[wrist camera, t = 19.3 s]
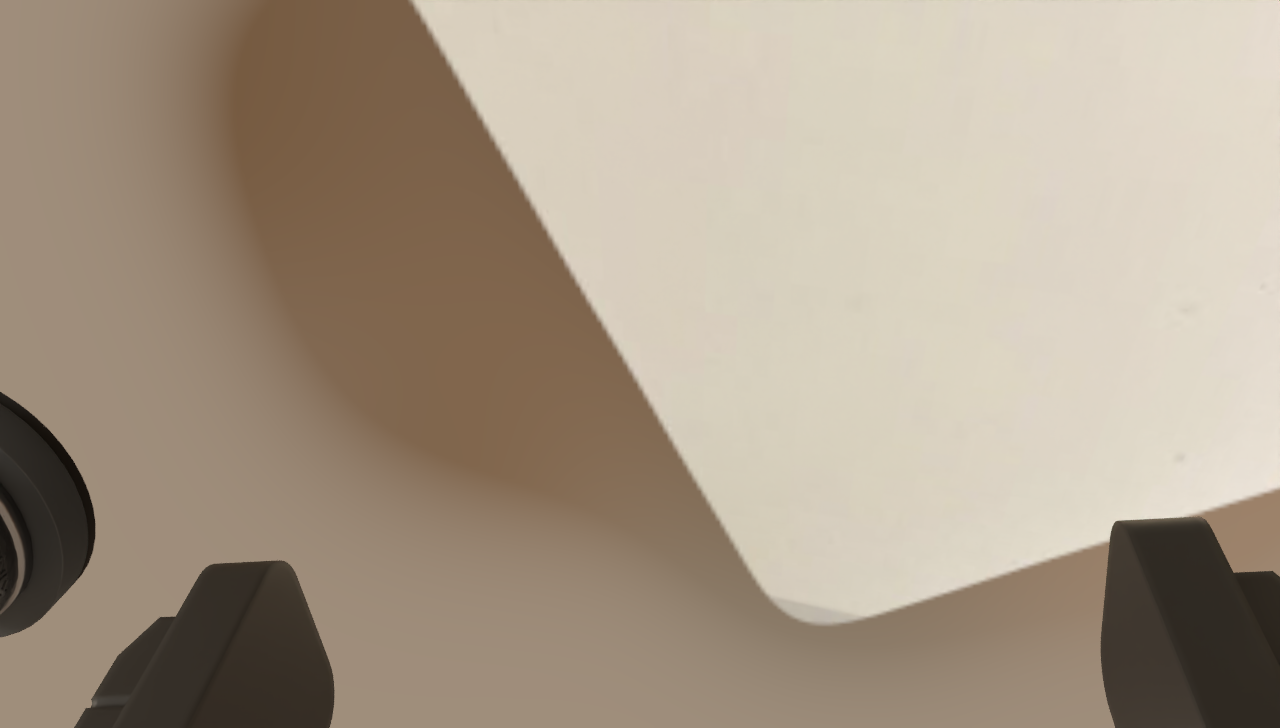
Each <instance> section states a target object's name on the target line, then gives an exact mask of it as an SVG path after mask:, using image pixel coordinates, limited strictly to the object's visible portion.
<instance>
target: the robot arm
mask: <svg viewBox="0 0 1280 728" xmlns="http://www.w3.org/2000/svg"><path fill="white" fill-rule="evenodd" d="M32 563H33V552H32V544H31V540H30V535H29V532H28V529H27V526H26V524H25V521H24V519H23V517H22V515H21V513H20V511H19V509H18V507H17V506H16V504H15V503H14V501H13V499H12V498H11V496H10V495H9V494H8V492H7V491H6V490H5V488H4V487H3V486H2V485H1V484H0V614H1V613H3V612H4V611H5V610H6V609H7V608H8V607H9V606H10V605H11V604H12V603H13V602H14V601H15V600H16V599H17V598H18V597H19V595H20V594H21V593H22V592H23V590H24V589H25V587H26V585H27V583H28V581H29V578H30V574H31V571H32ZM1101 663H1102V673H1103V681H1104V687H1105V692H1106V697H1107V701H1108V705H1109V709H1110V712H1111V715H1112V718H1113V721H1114V724H1115V728H1280V577H1279V576H1278V575H1277V574H1275V573H1274V572H1273V571H1264V572H1241V573H1233V571H1232V569H1231V567H1230V565H1229V563H1228V561H1227V559H1226V557H1225V555H1224V553H1223V551H1222V549H1221V547H1220V545H1219V543H1218V541H1217V539H1216V537H1215V535H1214V533H1213V531H1212V529H1211V527H1210V525H1209V524H1208V523H1207V521H1206V520H1205V519H1203V518H1202V517H1184V518H1164V519H1144V520H1125V521H1116V522H1115V523H1114V525H1113V527H1112V531H1111V536H1110V545H1109V556H1108V567H1107V578H1106V589H1105V600H1104V611H1103V621H1102V632H1101ZM91 700H92V706H91V708H86V709H85V711H84V712H83V714H82V716H81V717H80V719H79V721H78V722H77V724H76V726H75V727H74V728H329V727H330V724H331V719H332V714H333V707H334V681H333V674H332V669H331V666H330V663H329V660H328V657H327V655H326V652H325V650H324V647H323V644H322V641H321V639H320V636H319V633H318V631H317V629H316V626H315V623H314V620H313V618H312V615H311V613H310V610H309V607H308V605H307V602H306V599H305V597H304V594H303V591H302V589H301V586H300V584H299V581H298V578H297V576H296V574H295V572H294V570H293V568H292V567H291V566H290V565H289V564H288V563H286V562H285V561H263V562H243V563H223V564H213V565H210V566H208V567H206V568H205V569H204V571H202V573H201V574H200V576H199V577H198V579H197V581H196V582H195V584H194V586H193V588H192V589H191V591H190V593H189V594H188V596H187V598H186V600H185V601H184V603H183V605H182V607H181V608H180V610H179V612H178V614H177V615H176V617H160V618H159V619H158V620H156V622H154V623H153V624H152V625H151V626H150V627H149V628H148V629H147V630H146V631H144V632H143V633H142V634H141V635H140V636H139V637H138V638H137V639H136V640H135V641H134V642H133V643H131V644H130V645H129V646H128V647H127V648H126V649H125V650H124V651H123V652H122V653H121V654H119V655H118V657H117V658H116V660H115V661H114V663H113V665H112V666H111V668H110V670H109V671H108V673H107V675H106V676H105V678H104V680H103V681H102V683H101V684H100V686H99V688H98V689H97V691H96V693H95V695H94V696H93V698H92V699H91Z"/></svg>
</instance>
